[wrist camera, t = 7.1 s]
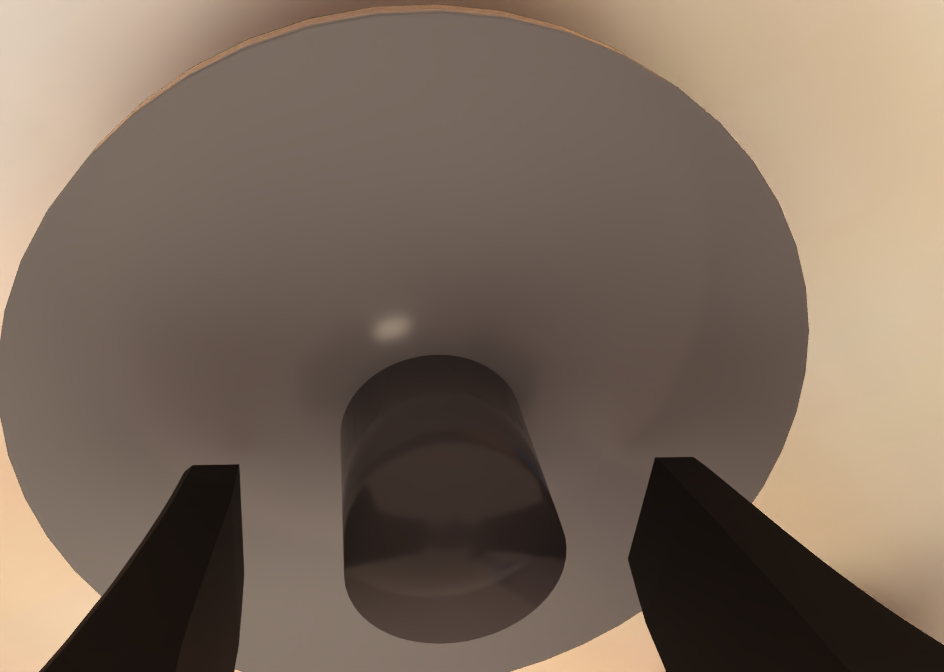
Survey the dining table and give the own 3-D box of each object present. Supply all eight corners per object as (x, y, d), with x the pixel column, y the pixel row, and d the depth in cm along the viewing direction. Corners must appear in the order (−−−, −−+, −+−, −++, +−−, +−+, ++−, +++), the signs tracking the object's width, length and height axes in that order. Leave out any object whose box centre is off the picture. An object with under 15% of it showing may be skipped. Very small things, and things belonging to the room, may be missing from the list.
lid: (922, 326, 15) (1087, 455, 12) (470, 726, 19) (500, 905, 16) (340, -241, 9) (347, -292, 6) (-131, 492, 13) (-277, 696, 10)
